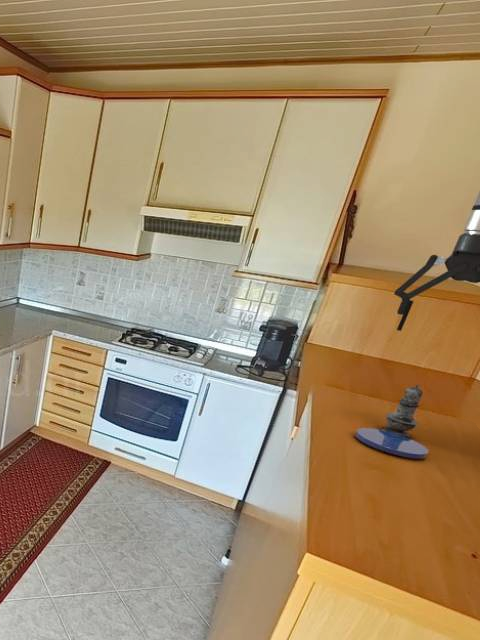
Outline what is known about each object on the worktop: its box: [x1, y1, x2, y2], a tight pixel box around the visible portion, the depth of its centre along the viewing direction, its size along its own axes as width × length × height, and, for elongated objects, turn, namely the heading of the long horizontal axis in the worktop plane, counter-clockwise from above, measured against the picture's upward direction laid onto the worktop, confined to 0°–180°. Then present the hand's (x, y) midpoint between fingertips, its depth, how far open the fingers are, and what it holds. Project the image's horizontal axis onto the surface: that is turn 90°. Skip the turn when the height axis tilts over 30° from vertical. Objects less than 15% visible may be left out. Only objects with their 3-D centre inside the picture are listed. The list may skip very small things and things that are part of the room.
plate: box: [355, 427, 430, 460], centre depth 103 cm, size 12×12×2 cm
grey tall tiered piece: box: [381, 383, 424, 439], centre depth 110 cm, size 6×6×12 cm
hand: (439, 337), depth 104 cm, fingers open, 13 cm apart
